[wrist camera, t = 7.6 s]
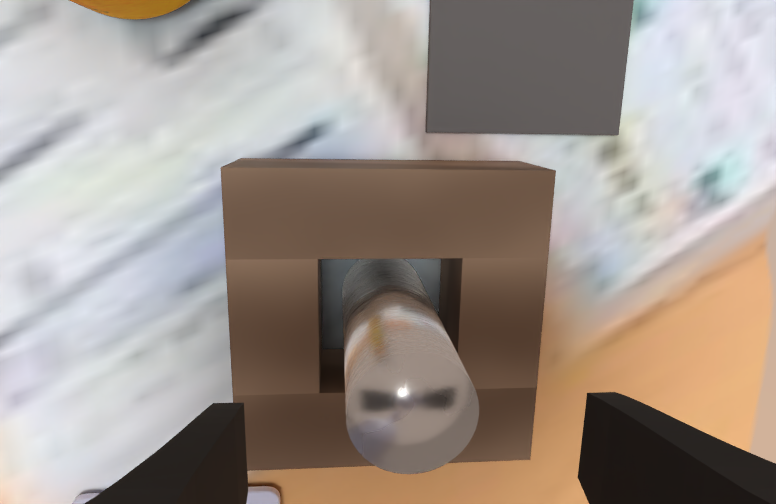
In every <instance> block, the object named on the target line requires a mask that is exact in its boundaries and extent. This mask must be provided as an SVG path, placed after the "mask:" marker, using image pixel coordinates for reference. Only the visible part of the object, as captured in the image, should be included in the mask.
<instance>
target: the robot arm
mask: <svg viewBox="0 0 776 504" xmlns="http://www.w3.org/2000/svg"><path fill="white" fill-rule="evenodd" d="M578 479H579V481H580V483H581V486H582V488H583V490H584V493H585V495H586V497H587V500H588V502H589V504H776V464H775V463H772V462H770V461H768V460H765V459H763V458H760V457H758V456H756V455H753V454H751V453H749V452H747V451H744V450H742V449H740V448H737V447H735V446H733V445H730V444H728V443H726V442H724V441H722V440H719V439H717V438H715V437H713V436H711V435H709V434H706V433H704V432H702V431H700V430H698V429H696V428H694V427H692V426H690V425H687V424H685V423H683V422H681V421H679V420H677V419H675V418H673V417H671V416H669V415H667V414H665V413H662V412H660V411H658V410H656V409H654V408H652V407H650V406H648V405H645V404H643V403H641V402H639V401H637V400H634V399H632V398H630V397H627V396H624V395H622V394H619V393H616V392H606V393H587V400H586V409H585V418H584V427H583V436H582V445H581V454H580V463H579V472H578ZM72 504H280V494H279V492H278V490H277V489H276V488H274V487H271V486H257V487H248V476H247V456H246V435H245V415H244V403H213V404H212V405H211V406H209V407H208V408H207V409H206V410H204V411H203V412H202V413H201V414H200V415H199V416H198V417H196V418H195V419H194V420H193V421H192V422H191V423H190V424H188V425H187V426H186V427H185V428H184V429H183V430H182V431H180V432H179V433H178V434H177V435H176V436H174V437H173V438H172V439H171V440H170V441H169V442H167V443H166V444H165V445H164V446H163V447H161V448H160V449H159V450H158V451H157V452H155V453H154V454H153V455H152V456H150V457H149V458H148V459H146V460H145V461H144V462H142V463H141V464H140V465H138V466H137V467H136V468H134V469H133V470H132V471H130V472H129V473H128V474H127V475H125V476H124V477H123V478H121V479H120V480H119V481H117V482H116V483H114V484H113V485H112V486H110V487H109V488H107V489H106V490H104V491H103V492H101V493H87V494H81V495H79V496H77V497H76V498H75V500H74V501H73V503H72Z"/></svg>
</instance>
